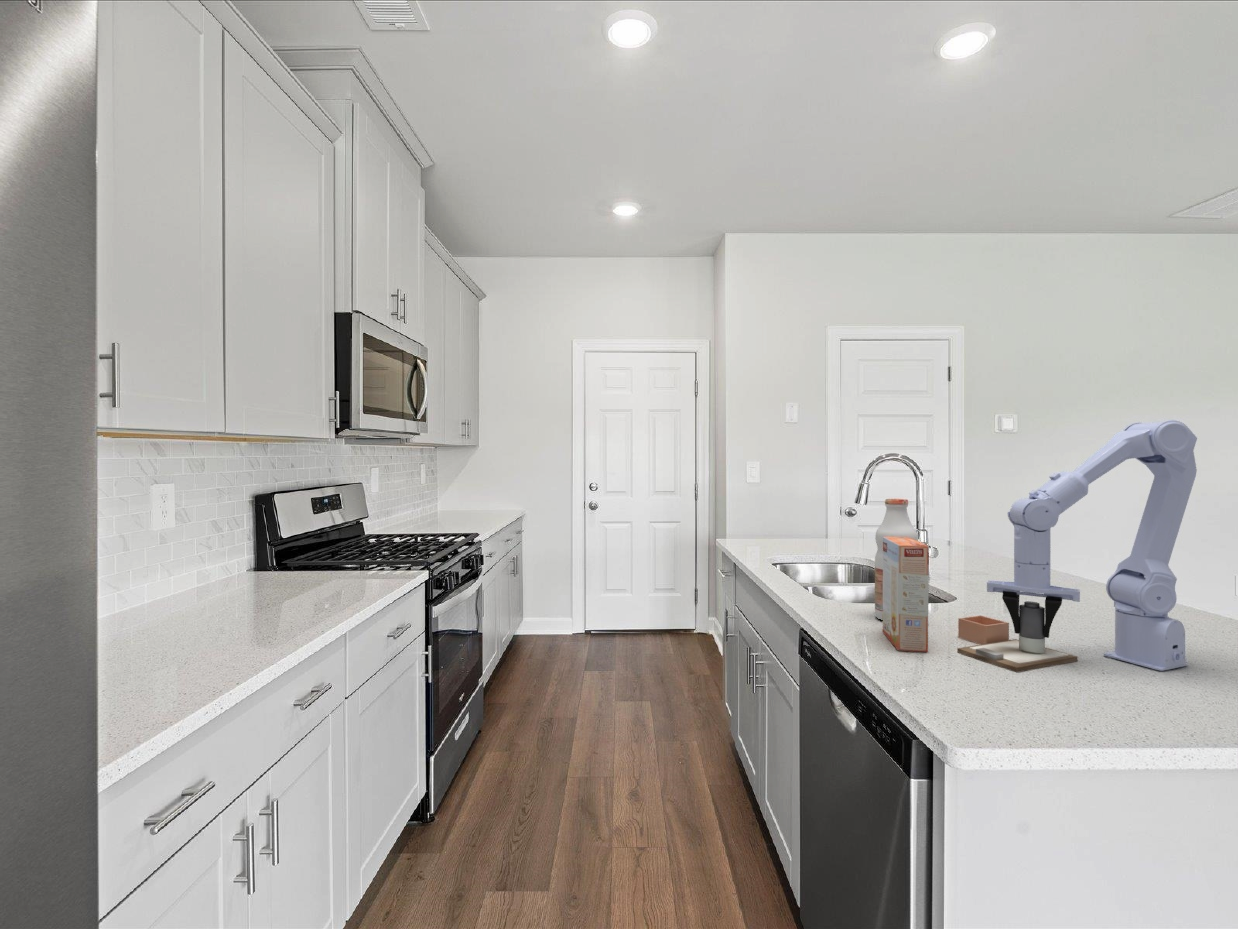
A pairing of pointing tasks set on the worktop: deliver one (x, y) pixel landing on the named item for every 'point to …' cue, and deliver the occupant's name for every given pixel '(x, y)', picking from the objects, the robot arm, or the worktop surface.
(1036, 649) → the grey lidded canister
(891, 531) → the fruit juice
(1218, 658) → the worktop surface
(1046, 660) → the clipboard
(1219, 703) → the worktop surface
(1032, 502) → the robot arm
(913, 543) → the cracker box
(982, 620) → the terracotta open box
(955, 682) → the worktop surface
